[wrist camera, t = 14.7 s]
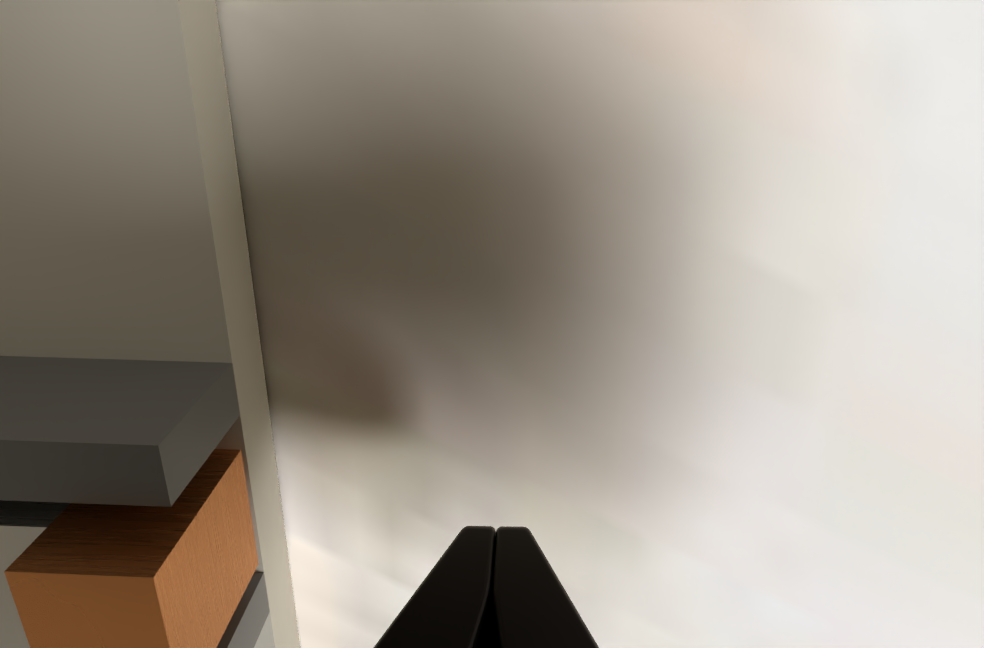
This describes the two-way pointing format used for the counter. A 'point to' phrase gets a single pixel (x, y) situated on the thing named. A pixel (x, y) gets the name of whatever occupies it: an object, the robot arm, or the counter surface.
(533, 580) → the robot arm
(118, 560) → the lock pin
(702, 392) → the counter surface
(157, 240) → the dock
